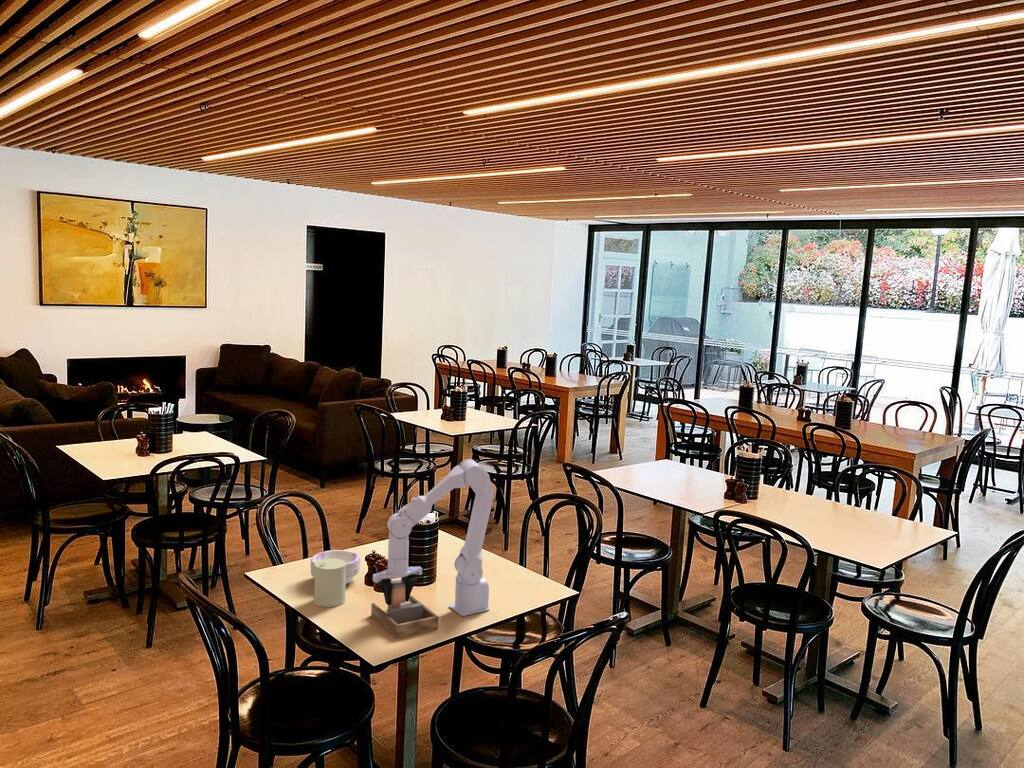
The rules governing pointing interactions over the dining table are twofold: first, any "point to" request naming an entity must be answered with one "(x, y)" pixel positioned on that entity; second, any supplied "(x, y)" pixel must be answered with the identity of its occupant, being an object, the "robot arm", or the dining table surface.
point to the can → (330, 582)
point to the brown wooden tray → (409, 627)
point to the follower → (406, 612)
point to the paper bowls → (348, 556)
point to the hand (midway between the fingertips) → (397, 602)
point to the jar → (397, 593)
